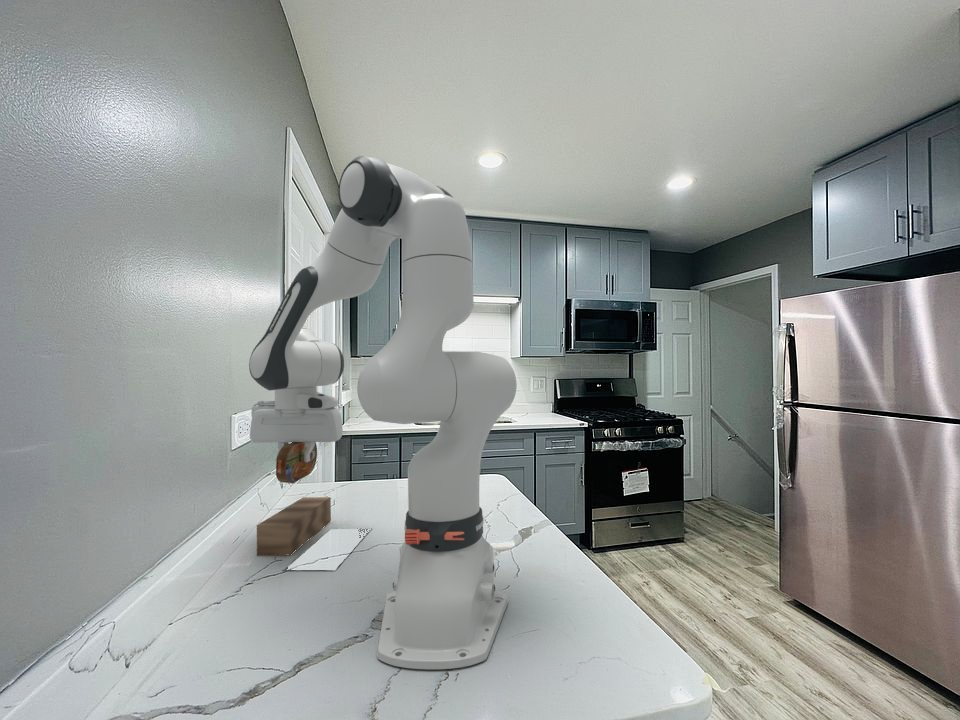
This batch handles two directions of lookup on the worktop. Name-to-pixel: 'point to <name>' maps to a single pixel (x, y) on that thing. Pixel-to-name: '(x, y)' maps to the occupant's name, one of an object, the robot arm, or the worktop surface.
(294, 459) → the tin
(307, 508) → the block
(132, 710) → the worktop surface
